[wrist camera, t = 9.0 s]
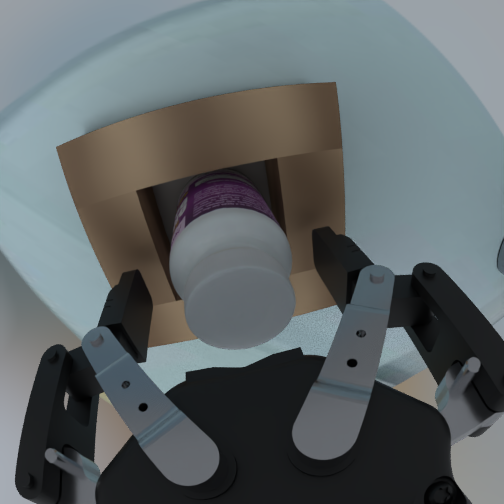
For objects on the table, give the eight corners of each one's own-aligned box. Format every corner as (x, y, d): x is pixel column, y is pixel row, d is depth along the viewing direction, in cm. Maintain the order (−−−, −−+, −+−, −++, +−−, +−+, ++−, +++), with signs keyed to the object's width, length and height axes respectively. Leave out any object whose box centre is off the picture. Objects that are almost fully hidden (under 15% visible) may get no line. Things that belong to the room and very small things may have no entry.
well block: (307, 84, 15) (335, 82, 12) (322, 271, 23) (342, 302, 19) (83, 135, 14) (56, 147, 11) (150, 310, 22) (145, 347, 18)
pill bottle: (167, 178, 16) (139, 267, 8) (253, 159, 17) (312, 228, 9) (188, 253, 19) (190, 372, 11) (265, 236, 20) (315, 343, 11)
